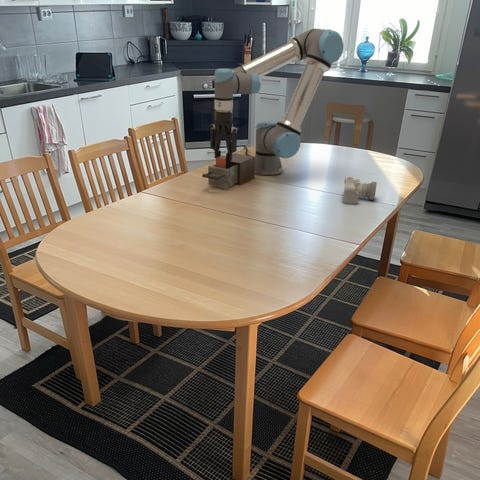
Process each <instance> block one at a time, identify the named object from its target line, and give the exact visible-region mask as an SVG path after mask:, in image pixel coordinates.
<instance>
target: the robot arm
mask: <svg viewBox="0 0 480 480" xmlns="http://www.w3.org/2000/svg"><path fill="white" fill-rule="evenodd" d="M343 52H344V41H343V37H342V35H341V34H340V33H339V32H337V31H336V30H332V29H330V28H328V29H321V28H311V29H308V30H306V31H304V32H301V33H299V34H298V35H295V36H293V37H292V38H289V40H288V42H287V43H285V44H283V45H281V46H279V47H277V48H275V49H273V50H270V51H269V52H267V53H265V54H263V55H260V56H258V57H257V58H254V59H252V60H250V61H248V62H246V63H244V64H241V65H240V66H238V67H235V68H234V69H232V68H217V69H215V71H214V77H213V78H214V79H213V80H214V81H213V82H214V110H215V111H214V123H212V124H210V125H208V129H209V140H210V141H209V142H210V150H213V151H214V159H216V158H217V157H219V156H222V151H221V142H222V136H223V137H224V140H225V145H226V151H227V152H226V153H225V156H226V169H228V168H230V167H231V161H232V154H233V153H236V152H237V150H238V149H237V146H238V132H239V127H235V126H234V124H233V119H234V118H233V117H234V115H233V114H234V112H233V110H234V95H254V94H258V93H259V92H260V91H261V87H262V81H261V78H262V77H264V76H266V75H268V74H270V73H272V72H274V71H276V70H279V69H280V68H283V67H285V66H287V65H288V64H291V63H293V62H296V63H298V62H300V61H303V60H305V66H304V69H303V71H302V73H301V75H300V78H299V80H298V82H297V85H296V87H295V89H294V91H293V94H292V97H291V98H290V101H289V103H288V105H287V107H286V110H285V112H284V114H283V117H282V118H281V119H279V120H278V121H277V120H276V121H274V120H273V121H272V120H271V121H260V122H258V123H257V124H256V127H255V128H256V129H255V153H254V155H250V154H248V153H249V149H248V147H247V146H243V149H244V150H246V151H245V155H248V156H253V157H255V172H254V175H259V176H277V175H280V174H282V173H283V166H282V165H283V164H282V160H281V159H290V158H292V157H294V156H295V155H297V153H298V152H299V150H300V149H301V142H302V141H301V138H300V136H301V134H302V129H301V126H302V124H303V121H304V120H305V117H306V115H307V112H308V110H309V108H310V106H311V103H312V101H313V99H314V97H315V94H316V92H317V90H318V88H319V85H320V83H321V81H322V79H323V77H324V74H325V73H326V72H328V71H330V69H331V67H332V65H333V63H336V62H337V61H339V60H340V58H341V57H342V55H343Z"/></svg>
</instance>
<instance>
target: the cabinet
mask: <svg viewBox="0 0 480 480" xmlns="http://www.w3.org/2000/svg"><path fill="white" fill-rule="evenodd" d="M248 155H249V154H248ZM248 155H246V154H241V153H236V152H234V153H232V161H231V163H233V164H239V182H237V183H235V184H234V185H237V186H241V185H243V184H245V183H247V182H249V181H251V180H253V179H255V173H254V172H255V156H254V155H251V156H248ZM253 156H254V157H253Z"/></svg>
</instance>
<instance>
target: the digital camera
mask: <svg viewBox="0 0 480 480" xmlns="http://www.w3.org/2000/svg"><path fill="white" fill-rule="evenodd" d="M377 183H378V182H377V181H371V182H370V183H369V182H368V183H367V182H361V179H360V178H359V177H354V176H345V177H344V189H343V197H342V202H343V203H344V204H348V205H349V204H351V205H358V203H359V199H360V198H368V200H370V201H375V198H376V191H377Z"/></svg>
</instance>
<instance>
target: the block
mask: <svg viewBox="0 0 480 480" xmlns="http://www.w3.org/2000/svg"><path fill="white" fill-rule="evenodd" d="M215 164H216V167H220V168H225V169H226V155H221V156H219V157H217V158H215Z"/></svg>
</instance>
